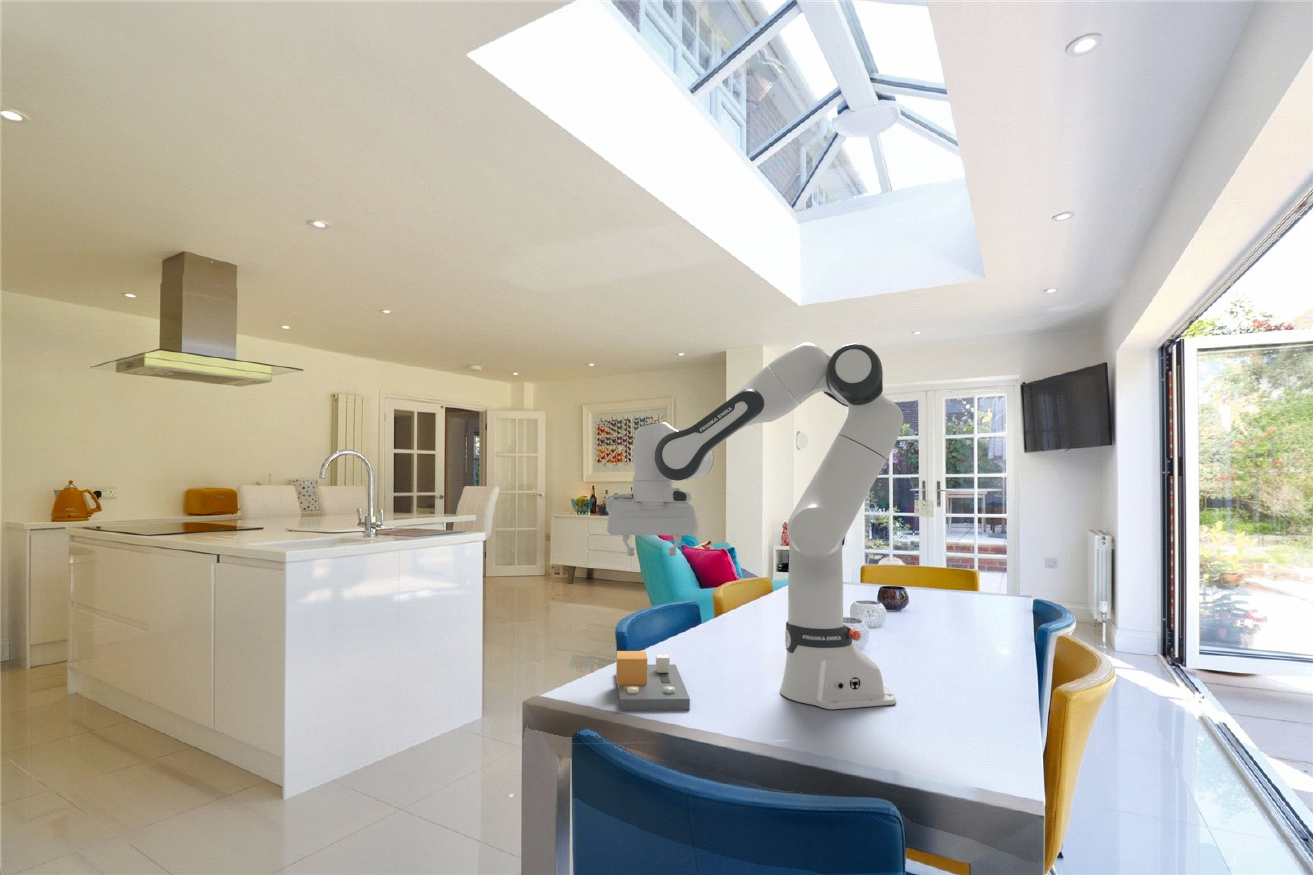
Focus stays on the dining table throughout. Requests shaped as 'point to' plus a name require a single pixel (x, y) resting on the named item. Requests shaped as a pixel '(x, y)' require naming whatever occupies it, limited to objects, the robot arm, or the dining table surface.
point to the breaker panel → (656, 692)
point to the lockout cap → (631, 668)
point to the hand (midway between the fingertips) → (651, 555)
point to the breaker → (662, 663)
